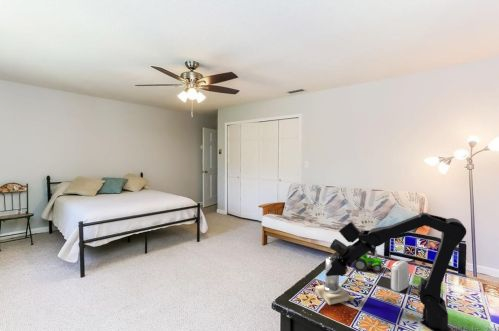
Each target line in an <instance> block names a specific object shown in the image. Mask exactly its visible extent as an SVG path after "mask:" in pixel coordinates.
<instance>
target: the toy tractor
mask: <svg viewBox="0 0 499 331" xmlns="http://www.w3.org/2000/svg"><path fill="white" fill-rule="evenodd" d="M378 256H379V255H378V251H377V249H376V253H375V255H374V257H369V256H368V253H367V254H365V255H364V256H362V257H361V258H360V259H359V261H356V262H354V263H353V264H352V265H353V268H354V270H355V271H357V272H366V271H367V269H368V267H369V266H371V267H372V270H373V271H374V272H376V273H380V272H381V271H382V270H383V267H384V265H383V264H384V262H383V260H382V258H378Z"/></svg>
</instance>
